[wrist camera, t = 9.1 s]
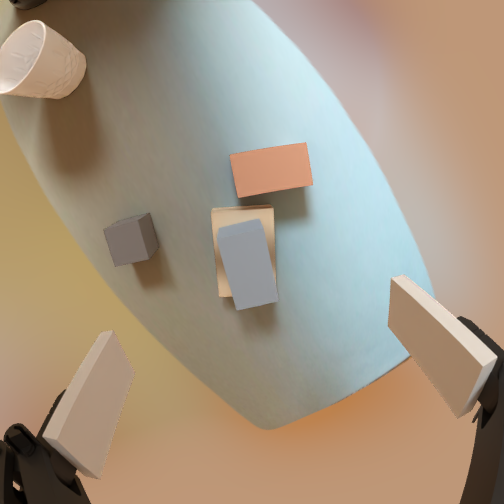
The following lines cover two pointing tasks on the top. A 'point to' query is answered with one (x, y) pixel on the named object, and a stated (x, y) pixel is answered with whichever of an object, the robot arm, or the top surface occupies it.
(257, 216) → the maple block
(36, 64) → the white cup
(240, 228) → the blue block
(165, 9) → the top surface
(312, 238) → the top surface
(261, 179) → the terracotta block
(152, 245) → the charcoal block
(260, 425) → the top surface
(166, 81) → the top surface
